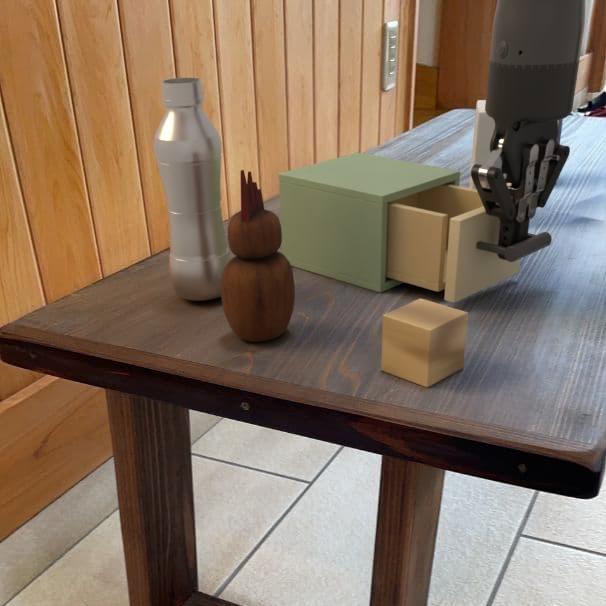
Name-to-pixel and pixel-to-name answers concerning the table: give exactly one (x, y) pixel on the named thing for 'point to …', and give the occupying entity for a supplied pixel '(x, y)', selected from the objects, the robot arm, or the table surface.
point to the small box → (481, 137)
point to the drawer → (450, 242)
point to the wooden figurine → (256, 271)
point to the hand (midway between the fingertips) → (510, 258)
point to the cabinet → (348, 214)
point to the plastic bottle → (191, 190)
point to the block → (423, 342)
